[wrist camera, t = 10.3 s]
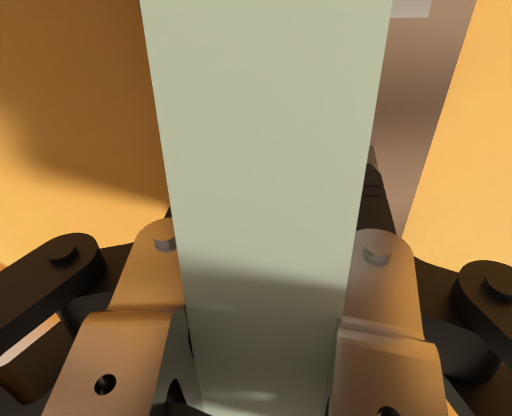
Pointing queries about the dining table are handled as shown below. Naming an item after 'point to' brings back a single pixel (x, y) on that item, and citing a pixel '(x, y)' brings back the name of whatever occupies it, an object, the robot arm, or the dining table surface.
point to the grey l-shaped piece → (413, 92)
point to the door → (264, 182)
